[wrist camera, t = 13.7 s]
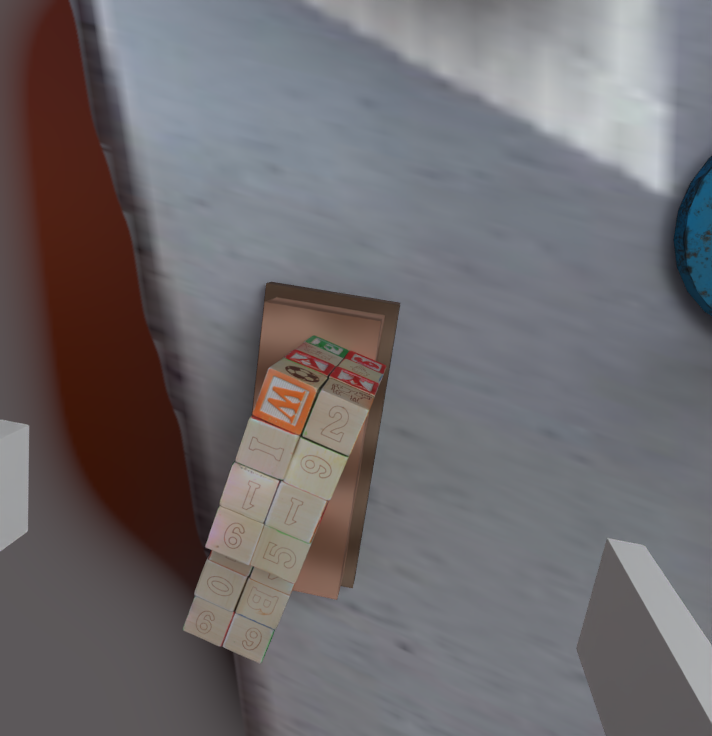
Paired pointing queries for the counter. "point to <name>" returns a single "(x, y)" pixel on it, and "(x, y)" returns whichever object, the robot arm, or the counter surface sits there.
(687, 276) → the desk lamp
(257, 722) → the counter surface
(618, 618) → the robot arm
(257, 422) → the stack of blocks
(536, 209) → the counter surface
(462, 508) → the counter surface
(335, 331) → the base brick
